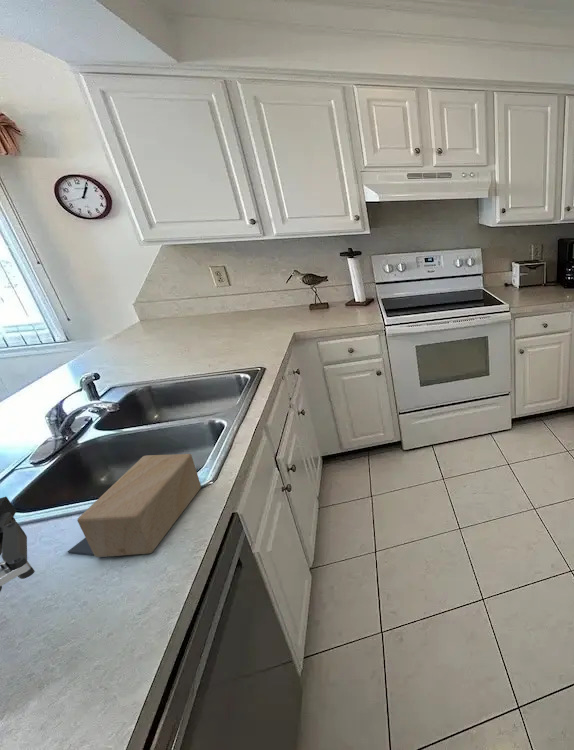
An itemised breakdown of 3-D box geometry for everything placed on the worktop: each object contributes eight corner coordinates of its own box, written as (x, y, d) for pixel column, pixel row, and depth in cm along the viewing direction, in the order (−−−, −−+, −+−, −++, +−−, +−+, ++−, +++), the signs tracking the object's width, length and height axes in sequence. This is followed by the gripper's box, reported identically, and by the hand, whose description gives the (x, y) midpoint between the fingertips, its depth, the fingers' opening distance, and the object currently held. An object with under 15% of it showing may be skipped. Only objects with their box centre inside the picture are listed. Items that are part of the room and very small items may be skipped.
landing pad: (68, 553, 82) (67, 551, 82) (107, 523, 89) (106, 521, 89) (108, 556, 81) (106, 555, 81) (144, 526, 88) (143, 524, 88)
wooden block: (151, 554, 81) (202, 487, 99) (136, 515, 77) (191, 452, 95) (94, 558, 80) (156, 489, 97) (74, 519, 75) (143, 454, 93)
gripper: (-171, 717, 38) (-50, 546, 56) (27, 637, 44) (78, 507, 62) (-236, 669, 34) (-85, 504, 52) (-12, 590, 41) (54, 467, 59)
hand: (3, 506), depth 57 cm, fingers closed
